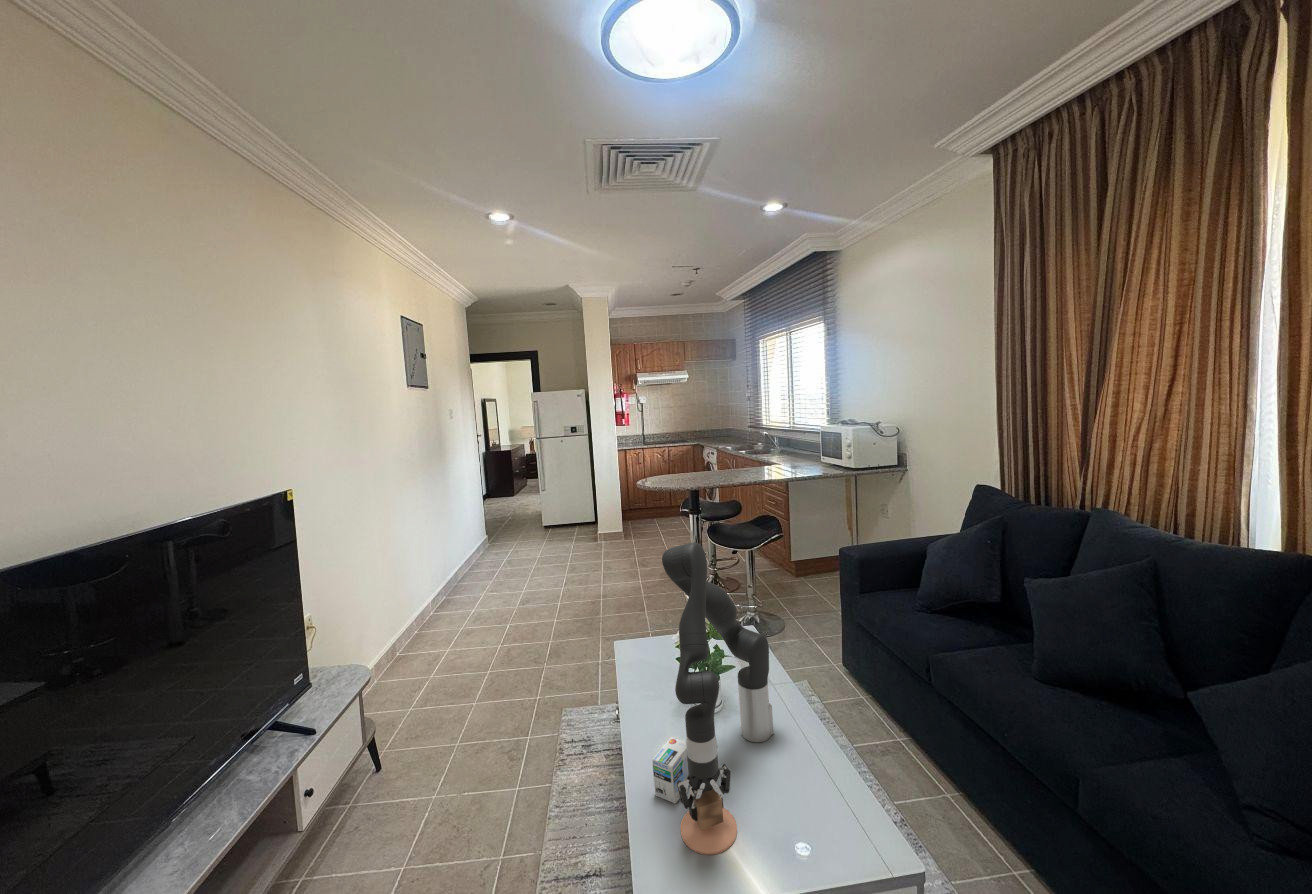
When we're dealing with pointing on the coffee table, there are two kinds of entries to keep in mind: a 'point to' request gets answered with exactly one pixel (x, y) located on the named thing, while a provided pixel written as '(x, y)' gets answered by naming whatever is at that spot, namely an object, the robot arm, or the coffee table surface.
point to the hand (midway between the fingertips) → (706, 813)
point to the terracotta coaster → (709, 834)
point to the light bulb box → (670, 769)
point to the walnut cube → (709, 809)
